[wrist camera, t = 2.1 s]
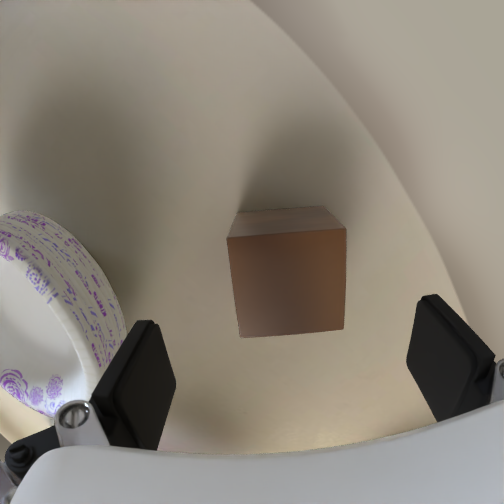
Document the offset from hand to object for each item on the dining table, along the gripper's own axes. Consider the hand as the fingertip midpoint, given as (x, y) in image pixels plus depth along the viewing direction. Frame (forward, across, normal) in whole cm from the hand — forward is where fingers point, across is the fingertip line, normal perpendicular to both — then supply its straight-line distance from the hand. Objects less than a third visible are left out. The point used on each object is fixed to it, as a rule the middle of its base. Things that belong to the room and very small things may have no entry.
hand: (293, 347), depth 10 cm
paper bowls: (+11, +18, +2) cm, 21 cm away
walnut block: (+10, 0, 0) cm, 10 cm away
